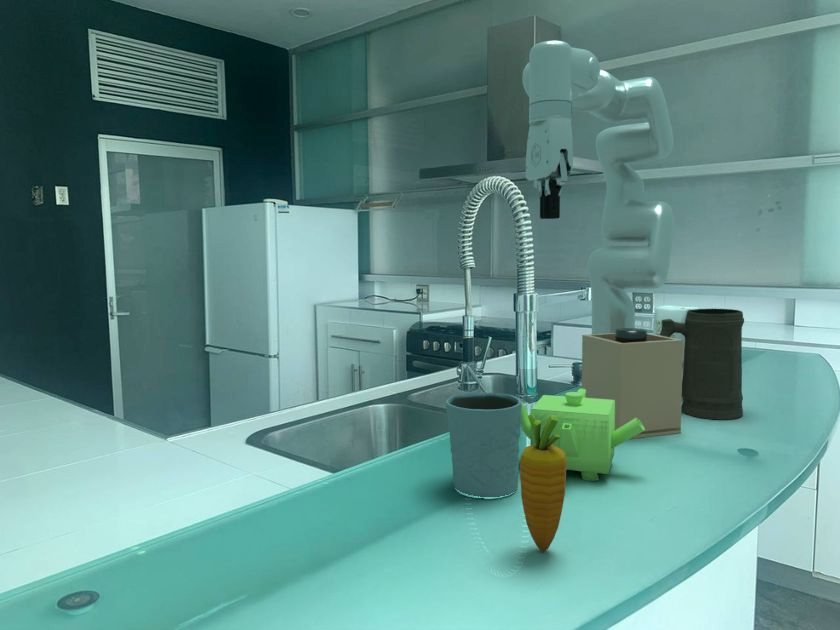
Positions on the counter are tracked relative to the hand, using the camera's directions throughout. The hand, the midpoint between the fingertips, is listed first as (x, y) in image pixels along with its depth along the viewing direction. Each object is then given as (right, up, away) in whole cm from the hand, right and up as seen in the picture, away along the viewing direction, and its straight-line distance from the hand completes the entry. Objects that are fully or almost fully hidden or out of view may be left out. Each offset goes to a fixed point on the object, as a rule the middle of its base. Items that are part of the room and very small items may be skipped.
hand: (549, 218), depth 117 cm
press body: (+13, -37, -3) cm, 40 cm away
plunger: (+13, -36, -4) cm, 38 cm away
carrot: (-11, -43, -49) cm, 66 cm away
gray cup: (-15, -41, -31) cm, 53 cm away
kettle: (-2, -40, -24) cm, 47 cm away
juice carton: (+31, -35, +19) cm, 50 cm away
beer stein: (+29, -37, +5) cm, 47 cm away
